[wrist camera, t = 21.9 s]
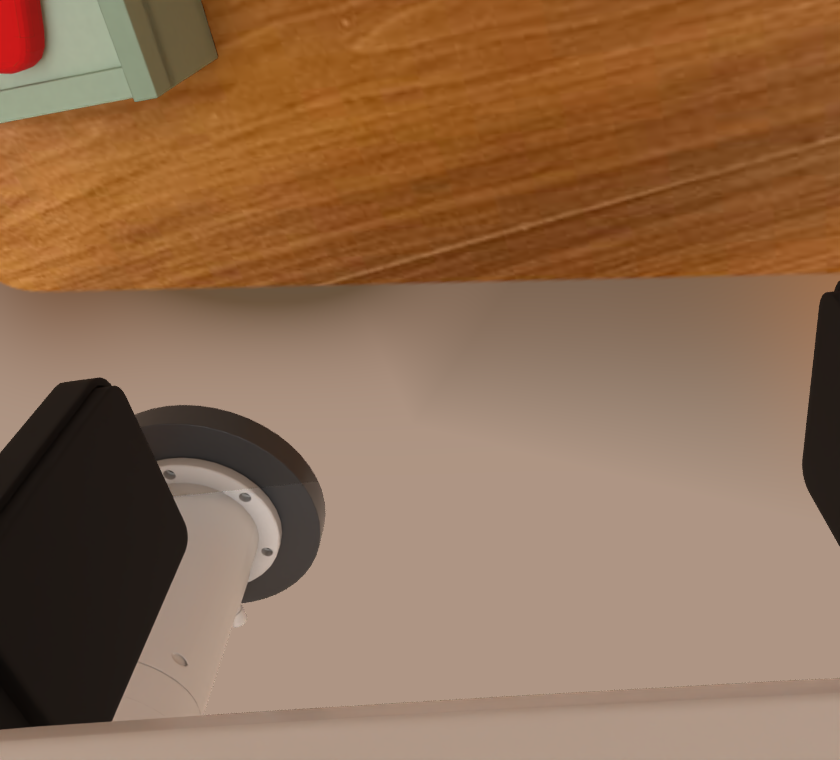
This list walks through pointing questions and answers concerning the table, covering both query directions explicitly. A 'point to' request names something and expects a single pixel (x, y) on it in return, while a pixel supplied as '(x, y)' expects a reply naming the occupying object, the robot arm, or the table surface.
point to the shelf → (108, 55)
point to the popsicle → (20, 35)
